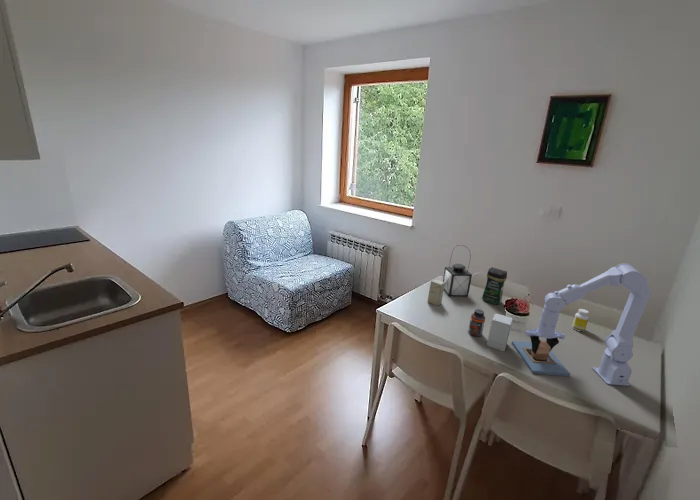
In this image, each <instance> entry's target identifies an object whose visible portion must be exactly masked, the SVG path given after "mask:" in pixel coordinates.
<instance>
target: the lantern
mask: <svg viewBox="0 0 700 500" xmlns="http://www.w3.org/2000/svg"><path fill="white" fill-rule="evenodd" d="M458 246H460V244H458V245H457V247H458ZM461 246H462V247H465V248H467V246H466V245H462V244H461ZM454 251H455V248H453V249H452V252H451V253H454ZM468 251H469V252H471V251H470V249H468ZM471 256H472V255H471V253H469V259H471ZM450 257H453V254H451V256H450ZM449 260H450V261H449V263H451V261H452V259H449ZM470 262H471V261H469V263H468V265H467V266H468V267H466V266H465V265H464V264H463V263H462V264H461V263H453V264H452V266H451V264H449V265H448V266H445V267H444V272H443V278H442V282H445V286H444V291H443V292H444V293H446V294H447V296H448V297H450V298H451V297H454V298H455V297H463V298H466V297H467V298H468V297H469V293H470V288H471V281H472V277H473V273H471V272H470V271H469V270H468V269H469V268H470Z"/></svg>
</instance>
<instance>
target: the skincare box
mask: <svg viewBox="0 0 700 500" xmlns="http://www.w3.org/2000/svg"><path fill="white" fill-rule="evenodd" d="M444 286H445V282H443V280H439V279H436V278H434V279H431V280H430V285H429V291H428V297H427V303H430V304H432V305H434V306H437V307H438V306H440V305H441V304H442V302H443V296H444V292H445V291H444Z"/></svg>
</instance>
